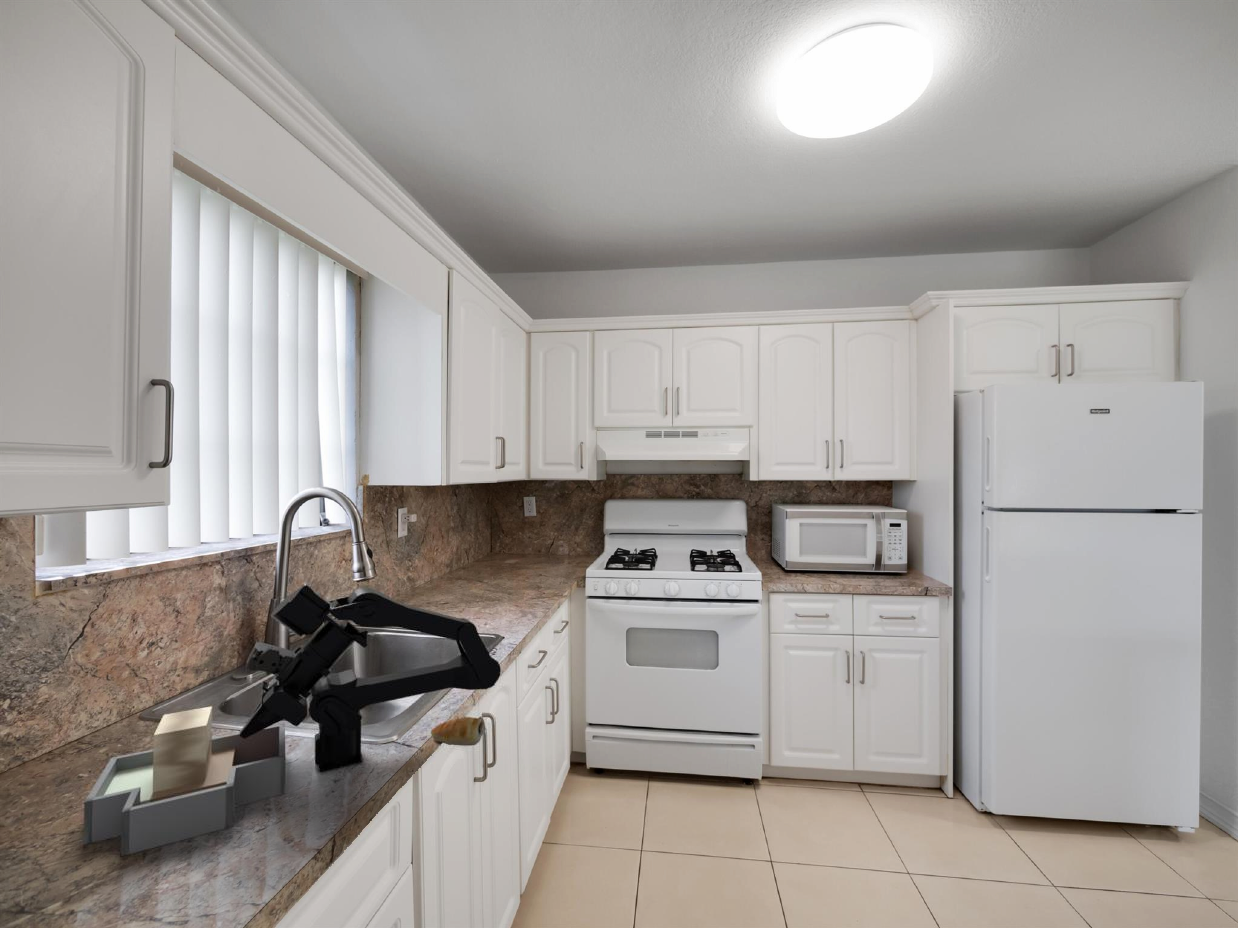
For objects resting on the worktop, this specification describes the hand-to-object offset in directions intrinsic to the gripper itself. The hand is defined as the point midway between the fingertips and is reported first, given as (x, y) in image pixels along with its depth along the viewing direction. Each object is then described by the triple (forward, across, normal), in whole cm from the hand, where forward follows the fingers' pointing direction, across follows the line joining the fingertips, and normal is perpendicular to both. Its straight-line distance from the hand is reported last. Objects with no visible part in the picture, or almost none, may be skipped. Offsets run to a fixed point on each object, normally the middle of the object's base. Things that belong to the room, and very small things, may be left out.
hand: (241, 736), depth 87 cm
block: (+8, 0, -2) cm, 8 cm away
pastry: (-18, +3, +30) cm, 35 cm away
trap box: (+9, +3, +1) cm, 9 cm away
